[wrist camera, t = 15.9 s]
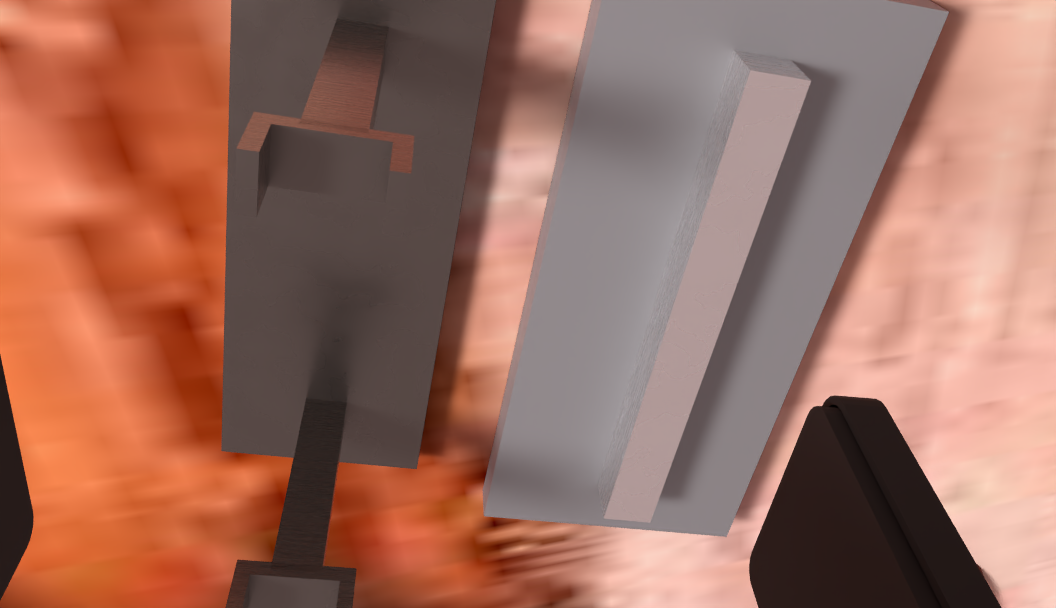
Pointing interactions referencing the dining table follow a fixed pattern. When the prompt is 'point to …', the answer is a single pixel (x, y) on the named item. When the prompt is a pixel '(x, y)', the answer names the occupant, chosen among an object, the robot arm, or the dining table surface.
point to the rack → (339, 248)
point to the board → (650, 227)
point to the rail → (701, 276)
